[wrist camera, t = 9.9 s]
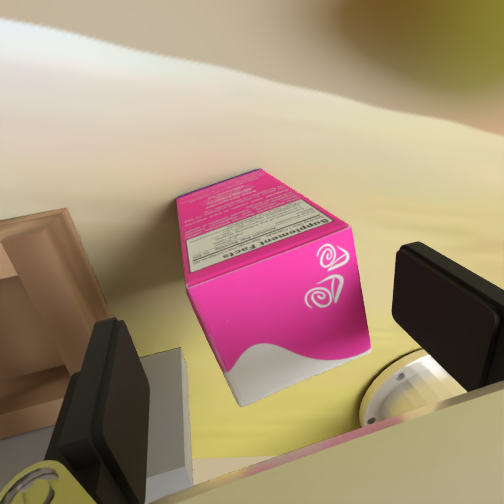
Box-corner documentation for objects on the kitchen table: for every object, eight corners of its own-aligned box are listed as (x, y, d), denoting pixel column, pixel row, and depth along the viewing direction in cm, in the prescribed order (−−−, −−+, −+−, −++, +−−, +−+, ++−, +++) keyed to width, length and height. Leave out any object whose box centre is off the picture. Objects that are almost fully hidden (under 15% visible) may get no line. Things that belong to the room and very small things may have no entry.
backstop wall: (180, 347, 24) (184, 466, 16) (186, 367, 25) (193, 489, 17) (-55, 408, 22) (-182, 579, 14) (-39, 427, 23) (-151, 599, 15)
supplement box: (285, 244, 23) (376, 358, 13) (205, 274, 22) (231, 416, 12) (264, 163, 20) (357, 225, 10) (172, 195, 20) (172, 292, 10)
